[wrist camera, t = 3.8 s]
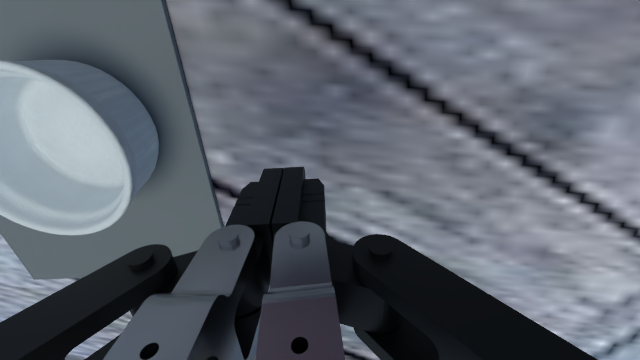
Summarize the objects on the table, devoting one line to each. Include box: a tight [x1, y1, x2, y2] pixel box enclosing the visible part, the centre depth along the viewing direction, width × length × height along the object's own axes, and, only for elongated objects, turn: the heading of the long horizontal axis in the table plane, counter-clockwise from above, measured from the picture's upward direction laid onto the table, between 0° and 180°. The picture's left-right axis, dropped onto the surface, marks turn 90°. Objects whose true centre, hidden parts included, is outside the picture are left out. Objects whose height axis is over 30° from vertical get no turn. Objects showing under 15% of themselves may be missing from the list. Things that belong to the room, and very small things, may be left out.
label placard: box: [0, 0, 223, 279], centre depth 18 cm, size 24×16×1 cm, turn 3°
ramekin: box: [0, 59, 159, 235], centre depth 16 cm, size 9×9×4 cm
